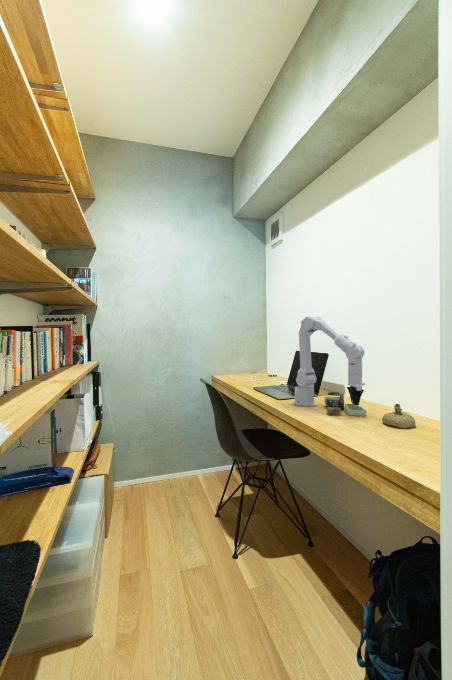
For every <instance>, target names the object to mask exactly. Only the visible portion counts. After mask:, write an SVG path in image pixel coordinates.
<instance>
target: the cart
mask: <svg viewBox="0 0 452 680" xmlns="http://www.w3.org/2000/svg"><path fill="white" fill-rule="evenodd" d="M338 393H339V394H338V396H324V399H323V401H324V402H323V403H324V405H325V407H339V408H340V409H341V411H342V410H344V411H345V399H344V398H345V397H344V393H343V392H342V391H339V392H338Z"/></svg>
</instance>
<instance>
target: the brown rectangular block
mask: <svg viewBox="0 0 452 680" xmlns="http://www.w3.org/2000/svg"><path fill="white" fill-rule="evenodd" d="M326 407H327V408H326V411H327V412H326V414H327V415H328V416H331V417H333V416H334V417H341V416H342V413H341V412H342V410H341V409H340V408H339V406H333V407H328V406H326Z"/></svg>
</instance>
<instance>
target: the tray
mask: <svg viewBox="0 0 452 680" xmlns="http://www.w3.org/2000/svg"><path fill="white" fill-rule="evenodd" d="M344 412H345V413H346V415H347V416H352V417H367V409H365V407H363V406H360V405H359V406H358V410H352V406H345V405H344Z"/></svg>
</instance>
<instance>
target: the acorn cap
mask: <svg viewBox="0 0 452 680" xmlns="http://www.w3.org/2000/svg"><path fill="white" fill-rule="evenodd" d="M393 409H394V411H392V412H386V413H384V414H383V416H382V417H381V420H382V423H384V424H385V425H387V426H392V427H395V428H396V427H397V428H399V429H413V428H414V427H415V426H416V419H415V418H414V417H413V416H412V415H411V414H409V413H407V412H404V411H402V410H403V409H402V408H401V405H400V403H395V404H394V408H393Z"/></svg>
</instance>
